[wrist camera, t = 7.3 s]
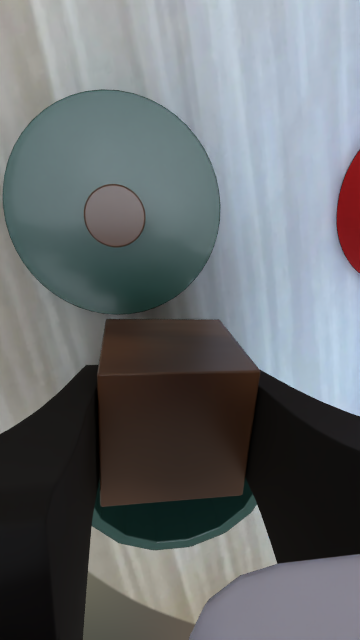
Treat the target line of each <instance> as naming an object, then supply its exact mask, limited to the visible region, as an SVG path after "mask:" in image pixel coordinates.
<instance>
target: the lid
mask: <svg viewBox="0 0 360 640" xmlns="http://www.w3.org/2000/svg"><path fill="white" fill-rule="evenodd" d="M3 209H4V215H5V221H6V225H7V228H8V231H9V235H10V238H11V240H12V242H13V244H14V247H15V249H16V251H17V253H18V254H19V256H20V258H21V259H22V261H23V263H24V264H25V265H26V267H27V268H28V269H29V271H30V272H31V273H32V274H33V276H34V277H35V278H36V279H37V280H38V281H39V282H40V283H41V284H42V285H43V286H45V287H46V288H47V289H48V290H50V291H51V292H52V293H53V294H55V295H57V296H58V297H60V298H61V299H63V300H65V301H66V302H69V303H71V304H73V305H75V306H77V307H80V308H83V309H86V310H89V311H93V312H98V313H103V314H116V315H117V314H132V313H137V312H143V311H146V310H149V309H152V308H155V307H157V306H160V305H162V304H164V303H166V302H168V301H169V300H171V299H173V298H174V297H176V296H177V295H178V294H180V293H181V292H182V291H183V290H185V289H186V288H187V287H188V286H189V285H190V284H191V283H192V282H193V281H194V280H195V278H196V277H197V276H198V274H199V273H200V272H201V271H202V269H203V267H204V266H205V264H206V262H207V260H208V259H209V257H210V254H211V252H212V250H213V247H214V244H215V241H216V237H217V234H218V228H219V221H220V197H219V189H218V184H217V180H216V176H215V173H214V170H213V167H212V164H211V162H210V160H209V158H208V156H207V154H206V151H205V150H204V148H203V146H202V145H201V143H200V142H199V140H198V139H197V137H196V136H195V135H194V134H193V132H192V131H191V130H190V129H189V128H188V127H187V125H186V124H185V123H183V122H182V121H181V120H180V119H179V118H178V117H177V116H176V115H175V114H173V113H172V112H170V111H169V110H167V109H166V108H165V107H163V106H162V105H160V104H158V103H156V102H154V101H152V100H150V99H148V98H145V97H142V96H139V95H137V94H134V93H129V92H124V91H119V90H93V91H85V92H81V93H78V94H74V95H70V96H68V97H66V98H64V99H61V100H59V101H57V102H55V103H54V104H52V105H51V106H49V107H48V108H46V109H44V110H43V111H42V112H41V113H40V114H39V115H37V116H36V117H35V118H34V119H33V120H32V121H31V122H30V123H29V125H28V126H27V127H26V128H25V130H24V131H23V132H22V133H21V135H20V137H19V138H18V140H17V142H16V143H15V145H14V147H13V150H12V152H11V155H10V157H9V159H8V163H7V167H6V171H5V175H4V183H3Z"/></svg>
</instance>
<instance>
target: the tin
mask: <svg viewBox="0 0 360 640" xmlns="http://www.w3.org/2000/svg"><path fill="white" fill-rule="evenodd" d="M256 505H257V502H256V500H255V498H254V495H253V493H252V491H251V489H250V487H249V485H248V482H247V480H246V478H245V480H244V487H243V494H242V495H239V496H227V497H215V498H202V499H190V500H178V501H166V502H153V503H141V504H129V505H117V506H105V507H102V506H101V505H100V478H99V484H98V489H97V495H96V500H95V506H94V511H93V519H92V526H93V527H94V528H96V529H97V530H99V531H101V532H102V533H104V534H105V535H107V536H108V537H110V538H112V539H113V540H115V541H116V542H118V543H121V544H125V545H130V546H135V547H140V548H145V549H149V550H163V549H173V548H183V547H190V546H194V545H196V544H199V543H201V542H204V541H206V540H209V539H211V538H214V537H216V536H219V535H221V534H223V533H226V532H227V531H228V530H230V529H231V528H232V527H233V526H235V525H236V524H237V523H238V522H240V521H241V520H242V519H244V518H245V517H246V516H247V515H249V514H250V513H251V512H252V511H253V509H254V508H255V506H256Z"/></svg>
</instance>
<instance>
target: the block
mask: <svg viewBox="0 0 360 640" xmlns="http://www.w3.org/2000/svg"><path fill="white" fill-rule="evenodd" d="M259 378H260V370H259V369H258V367H257V366H256V365H255V364H254V362H253V361H252V360H251V359H250V357H249V356H248V355H247V354H246V352H245V351H244V350H243V349H242V347H241V346H240V345H239V344H238V342H237V341H236V340H235V339H234V337H233V336H232V335H231V334H230V332H229V331H228V330H227V328H226V327H225V326H224V325H223V323H222V322H221V321H220V320H195V319H107V320H106V322H105V329H104V335H103V341H102V348H101V354H100V360H99V367H98V373H97V392H98V434H99V475H100V505H101V506H102V507H105V506H117V505H129V504H141V503H153V502H166V501H178V500H190V499H202V498H215V497H227V496H239V495H242V494H243V487H244V480H245V474H246V467H247V460H248V453H249V446H250V439H251V433H252V426H253V419H254V412H255V405H256V399H257V392H258V385H259Z"/></svg>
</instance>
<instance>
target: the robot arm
mask: <svg viewBox="0 0 360 640" xmlns="http://www.w3.org/2000/svg"><path fill="white" fill-rule="evenodd" d="M98 367H99V365H86V366H85V367H84V368H83V369H82V370H81V371H80V372H79V373H78V374H77V375H76V376H75V377H74V378H73V379H72V380H71V381H70V382H69V383H68V384H67V385H66V386H65V387H64V388H63V389H62V390H61V391H60V392H59V393H58V394H57V395H55V396H54V397H53V398H52V399H51V400H49V401H48V402H47V403H46V404H45V405H44V406H42V407H41V408H40V409H39V410H37V411H36V412H34V413H33V414H32V415H30V416H29V417H27V418H26V419H24V420H23V421H21V422H20V423H18V424H17V425H15V426H14V427H12V428H10V429H9V430H7V431H5V432H3V433H1V434H0V640H83V627H84V614H85V599H86V586H87V574H88V561H89V549H90V537H91V526H92V519H93V511H94V506H95V500H96V495H97V489H98V484H99V478H100V475H99V434H98V392H97V373H98ZM245 478H246V480H247V482H248V485H249V487H250V489H251V491H252V493H253V495H254V498H255V500H256V502H257V505H258V507H259V510H260V512H261V515H262V518H263V521H264V524H265V527H266V530H267V533H268V536H269V539H270V542H271V545H272V548H273V551H274V554H275V557H276V561H277V564H276V565H273V566H269V567H266V568H263V569H260V570H256V571H253V572H250V573H247V574H243V575H240V576H239V577H237V578H236V579H235V580H233V581H232V582H231V583H230V584H228V585H227V586H226V587H224V588H223V589H222V590H220V591H219V592H218V593H217V594H215V595H214V596H213V597H211V598H210V599H209V600H208V601H207V603H206V604H205V606H204V608H203V610H202V612H201V614H200V616H199V618H198V620H197V622H196V624H195V627H194V629H193V631H192V633H191V635H190V637H189V640H360V417H359V416H357V415H354V414H351V413H348V412H346V411H343V410H341V409H338V408H336V407H333V406H330V405H328V404H326V403H323V402H321V401H319V400H317V399H315V398H312V397H310V396H308V395H306V394H304V393H302V392H300V391H298V390H296V389H294V388H292V387H290V386H288V385H287V384H285V383H283V382H281V381H279V380H277V379H276V378H274V377H272V376H270V375H268V374H267V373H265V372H263V371H261V370H260V378H259V385H258V392H257V399H256V405H255V412H254V419H253V426H252V433H251V439H250V446H249V453H248V460H247V467H246V474H245Z"/></svg>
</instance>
